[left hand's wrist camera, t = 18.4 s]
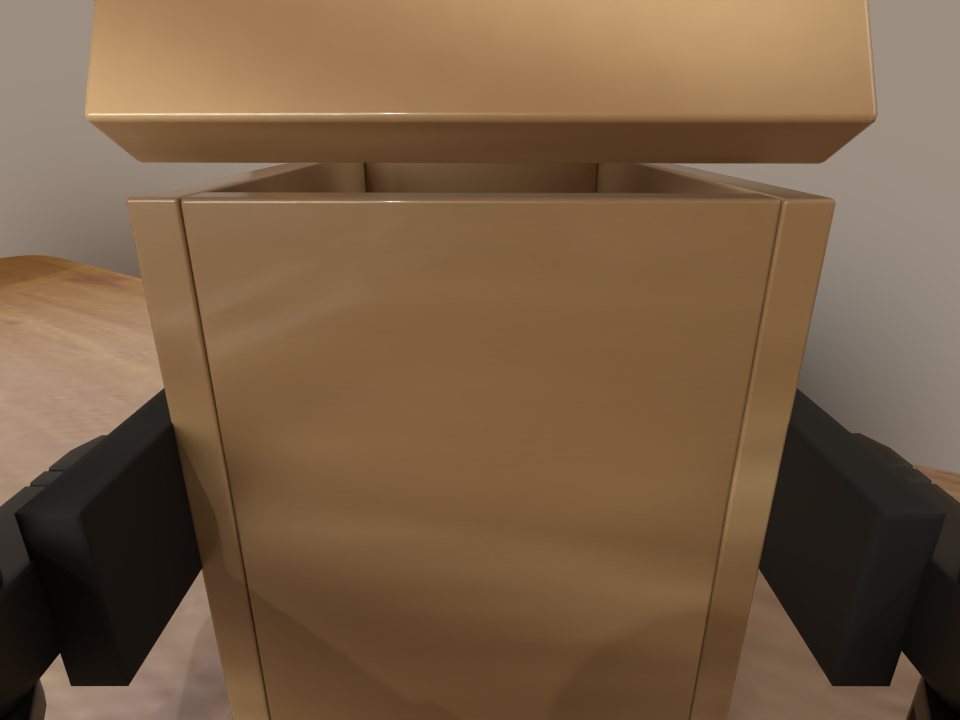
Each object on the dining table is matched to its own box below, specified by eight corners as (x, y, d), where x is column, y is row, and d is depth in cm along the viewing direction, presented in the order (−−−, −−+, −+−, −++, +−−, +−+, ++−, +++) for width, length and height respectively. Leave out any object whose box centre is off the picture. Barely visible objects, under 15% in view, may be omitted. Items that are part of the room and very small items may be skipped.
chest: (367, 430, 25) (346, 150, 21) (594, 431, 25) (616, 151, 21) (242, 769, 12) (123, 197, 8) (717, 771, 12) (839, 198, 8)
